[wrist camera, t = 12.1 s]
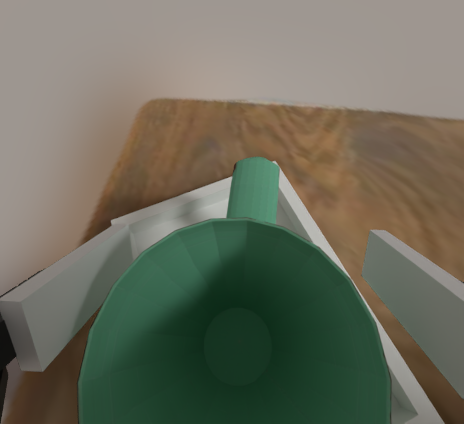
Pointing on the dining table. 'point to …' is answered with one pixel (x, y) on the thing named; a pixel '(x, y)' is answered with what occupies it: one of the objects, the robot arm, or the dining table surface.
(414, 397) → the cradle tray
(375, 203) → the dining table surface
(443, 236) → the dining table surface
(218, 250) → the mug
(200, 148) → the dining table surface
